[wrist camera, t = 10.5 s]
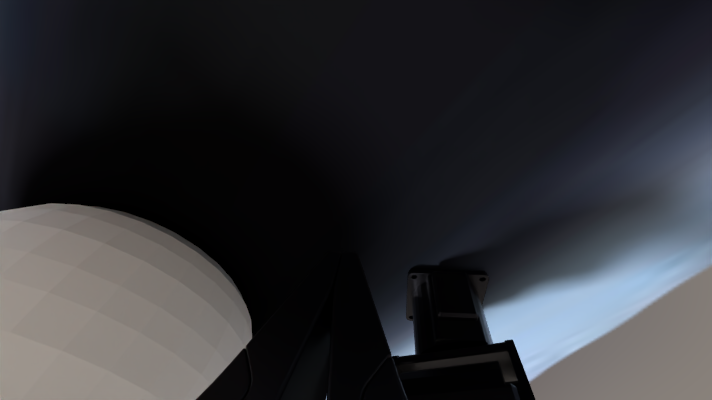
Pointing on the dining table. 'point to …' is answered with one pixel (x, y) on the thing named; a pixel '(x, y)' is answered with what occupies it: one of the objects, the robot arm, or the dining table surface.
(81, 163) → the dining table surface
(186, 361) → the pot
